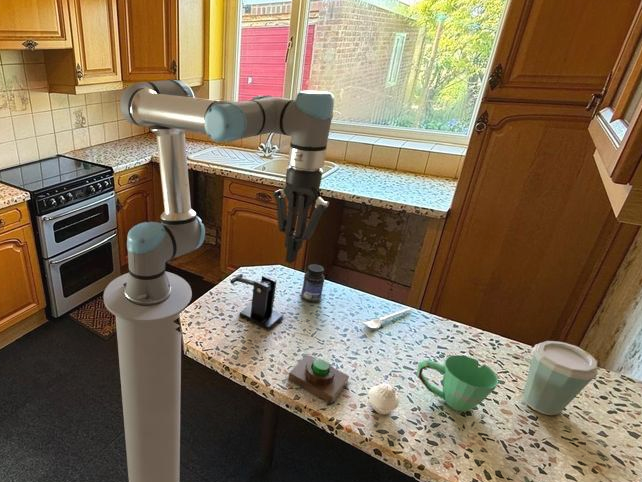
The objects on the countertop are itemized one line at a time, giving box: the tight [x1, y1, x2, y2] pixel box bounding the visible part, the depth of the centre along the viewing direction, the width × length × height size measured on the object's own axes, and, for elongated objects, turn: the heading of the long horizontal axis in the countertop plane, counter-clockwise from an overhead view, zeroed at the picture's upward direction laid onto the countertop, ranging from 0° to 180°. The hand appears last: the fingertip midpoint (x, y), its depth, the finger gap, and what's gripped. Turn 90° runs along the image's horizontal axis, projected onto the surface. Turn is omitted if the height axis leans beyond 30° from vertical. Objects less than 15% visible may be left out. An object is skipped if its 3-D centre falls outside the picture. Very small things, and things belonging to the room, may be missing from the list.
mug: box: [416, 354, 500, 413], centre depth 90 cm, size 15×10×10 cm
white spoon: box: [361, 308, 411, 329], centre depth 119 cm, size 3×20×2 cm, turn 116°
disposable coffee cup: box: [522, 340, 599, 416], centre depth 88 cm, size 11×11×15 cm
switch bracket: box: [239, 274, 284, 331], centre depth 117 cm, size 10×8×13 cm
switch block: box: [288, 353, 350, 405], centre depth 97 cm, size 11×9×4 cm
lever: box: [229, 273, 271, 291], centre depth 118 cm, size 12×5×2 cm, turn 46°
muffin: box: [368, 382, 400, 415], centre depth 89 cm, size 6×6×7 cm
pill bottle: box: [300, 263, 326, 303], centre depth 127 cm, size 6×6×11 cm
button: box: [312, 358, 329, 375], centre depth 96 cm, size 4×4×2 cm
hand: (290, 260), depth 98 cm, fingers closed
